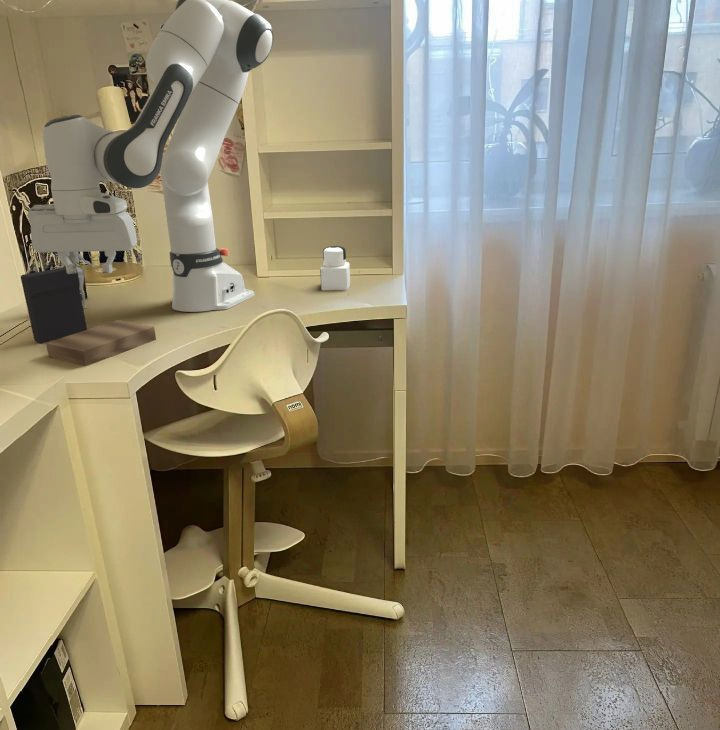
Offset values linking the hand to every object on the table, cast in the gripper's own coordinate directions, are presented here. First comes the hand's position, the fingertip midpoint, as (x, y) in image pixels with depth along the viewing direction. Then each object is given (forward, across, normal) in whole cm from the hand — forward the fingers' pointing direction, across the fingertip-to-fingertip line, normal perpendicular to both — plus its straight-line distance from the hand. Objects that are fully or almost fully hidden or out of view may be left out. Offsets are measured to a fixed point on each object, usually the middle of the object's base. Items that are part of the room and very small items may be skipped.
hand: (90, 273), depth 135 cm
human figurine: (+16, -18, +31) cm, 39 cm away
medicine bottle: (+16, +47, +44) cm, 67 cm away
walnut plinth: (+16, 0, 0) cm, 16 cm away
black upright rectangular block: (+16, -13, +9) cm, 23 cm away
